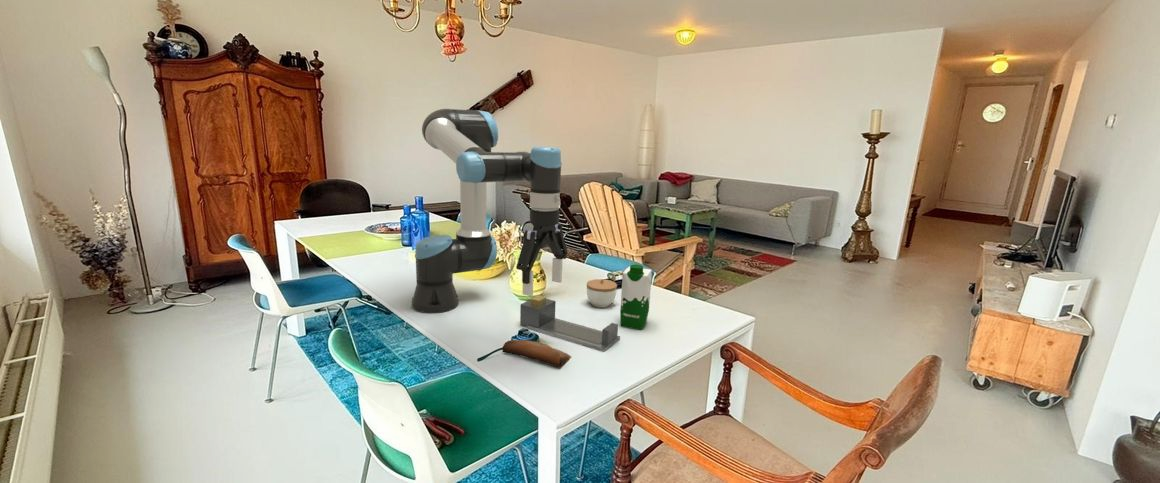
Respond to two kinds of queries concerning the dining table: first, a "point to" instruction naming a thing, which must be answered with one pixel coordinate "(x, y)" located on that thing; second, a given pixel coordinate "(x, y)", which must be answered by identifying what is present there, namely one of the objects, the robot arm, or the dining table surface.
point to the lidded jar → (601, 292)
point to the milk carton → (635, 297)
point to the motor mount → (564, 325)
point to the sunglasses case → (536, 352)
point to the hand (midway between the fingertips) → (542, 288)
